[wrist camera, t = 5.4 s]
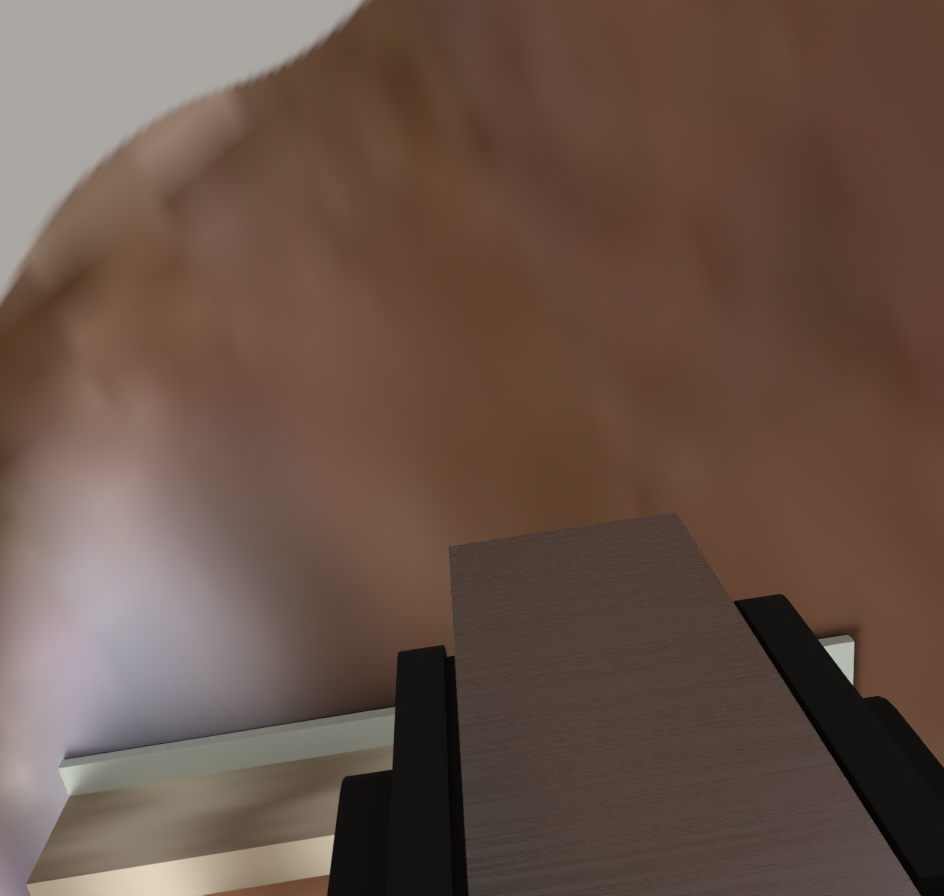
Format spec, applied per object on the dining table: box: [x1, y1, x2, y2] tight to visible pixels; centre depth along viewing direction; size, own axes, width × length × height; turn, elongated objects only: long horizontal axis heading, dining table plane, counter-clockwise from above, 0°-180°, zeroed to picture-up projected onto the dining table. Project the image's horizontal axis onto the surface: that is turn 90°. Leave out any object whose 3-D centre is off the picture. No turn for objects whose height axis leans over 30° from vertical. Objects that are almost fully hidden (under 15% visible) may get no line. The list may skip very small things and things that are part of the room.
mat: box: [58, 635, 854, 896], centre depth 31 cm, size 26×13×1 cm, turn 98°
